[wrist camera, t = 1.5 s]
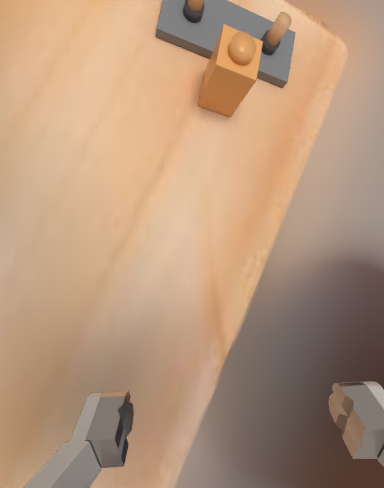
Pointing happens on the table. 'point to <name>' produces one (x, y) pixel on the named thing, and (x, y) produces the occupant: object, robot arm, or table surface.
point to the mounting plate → (224, 12)
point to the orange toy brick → (230, 71)
